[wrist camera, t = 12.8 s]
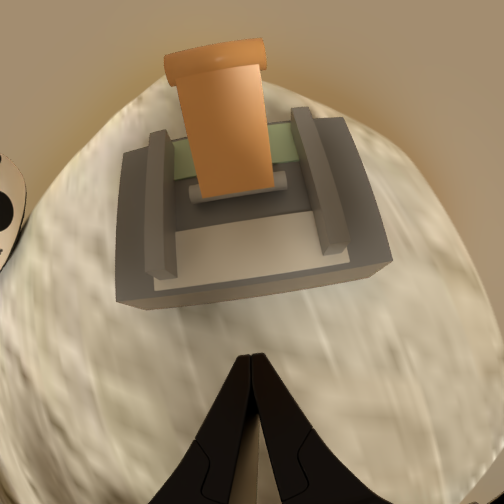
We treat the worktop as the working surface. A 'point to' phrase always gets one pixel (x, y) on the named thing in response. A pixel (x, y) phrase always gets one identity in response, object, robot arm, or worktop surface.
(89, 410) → the worktop surface
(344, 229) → the grey switch housing
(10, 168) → the milk container
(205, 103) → the breaker lever
